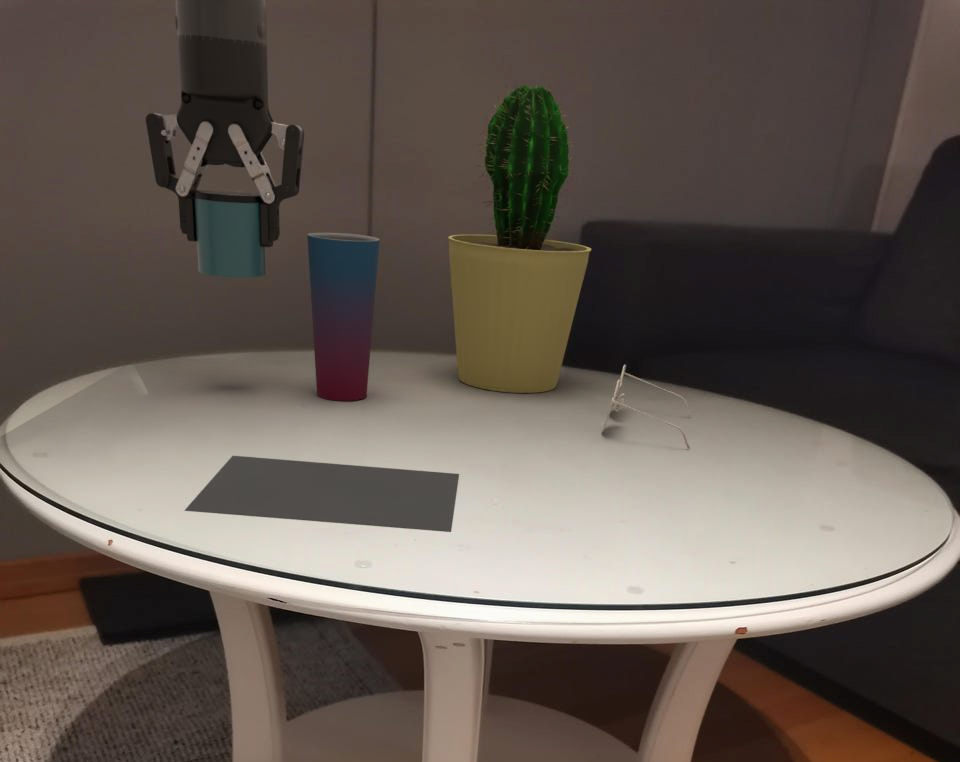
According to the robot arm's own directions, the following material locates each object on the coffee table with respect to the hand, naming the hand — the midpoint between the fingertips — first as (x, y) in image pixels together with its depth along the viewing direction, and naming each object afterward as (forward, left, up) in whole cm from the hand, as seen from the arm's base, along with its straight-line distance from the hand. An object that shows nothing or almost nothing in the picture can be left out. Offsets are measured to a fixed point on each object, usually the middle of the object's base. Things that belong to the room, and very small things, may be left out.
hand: (230, 242), depth 92 cm
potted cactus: (+27, +14, -14) cm, 34 cm away
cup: (+10, +1, -14) cm, 17 cm away
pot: (0, +3, -3) cm, 4 cm away
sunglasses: (+41, -2, -14) cm, 44 cm away
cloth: (+14, -30, -14) cm, 36 cm away
